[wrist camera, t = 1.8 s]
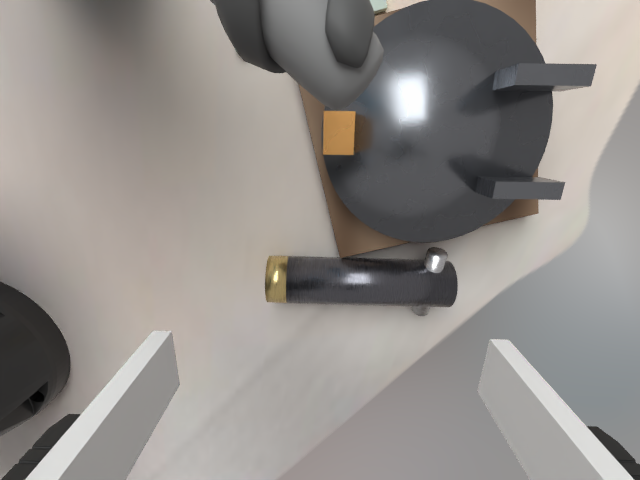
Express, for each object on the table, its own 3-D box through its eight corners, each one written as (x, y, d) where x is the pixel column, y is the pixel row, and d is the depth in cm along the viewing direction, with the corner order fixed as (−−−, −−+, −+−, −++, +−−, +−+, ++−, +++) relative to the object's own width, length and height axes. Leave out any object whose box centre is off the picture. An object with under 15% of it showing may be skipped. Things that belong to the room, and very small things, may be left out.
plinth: (339, 251, 25) (340, 258, 24) (290, 46, 21) (288, 40, 19) (525, 208, 24) (538, 213, 23) (519, -18, 20) (535, -29, 18)
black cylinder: (273, 290, 27) (431, 294, 28) (268, 322, 25) (444, 327, 25) (269, 234, 24) (449, 239, 24) (262, 263, 21) (467, 269, 21)
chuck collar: (319, 232, 23) (320, 252, 19) (322, 9, 19) (324, -25, 15) (506, 234, 23) (545, 255, 19) (555, 13, 19) (619, -19, 15)
